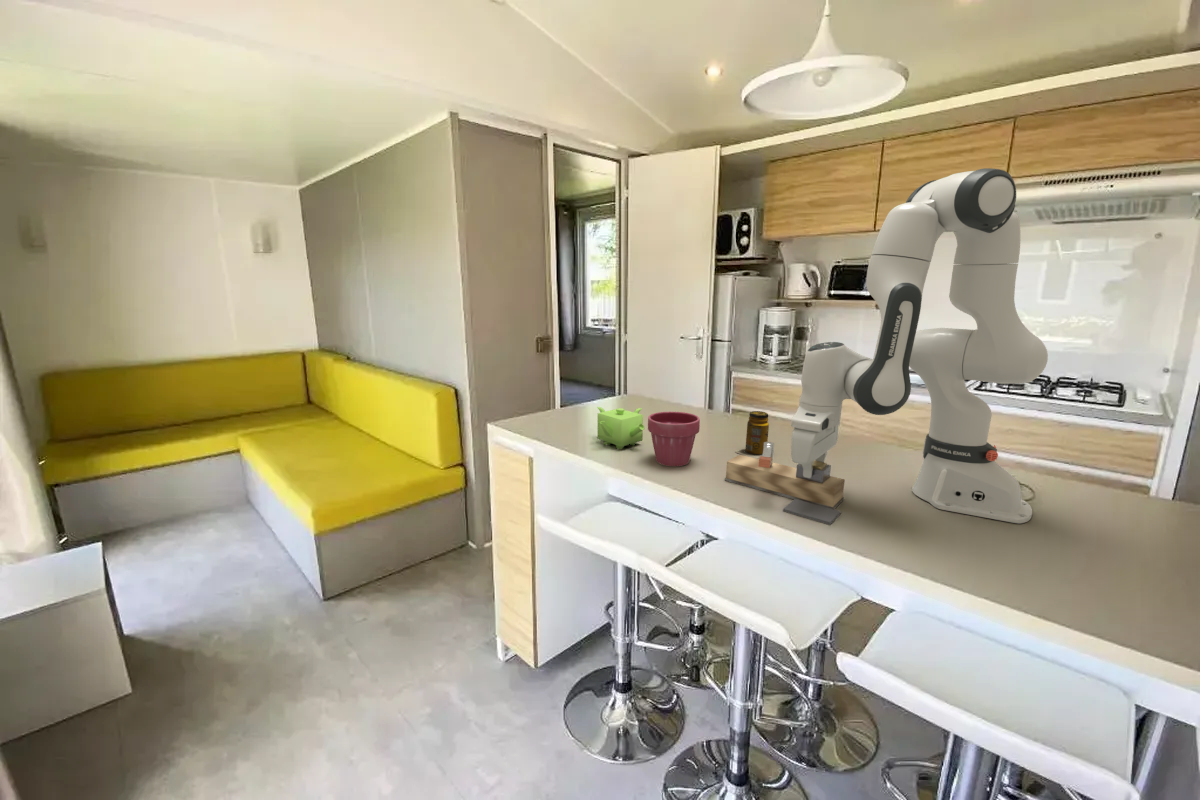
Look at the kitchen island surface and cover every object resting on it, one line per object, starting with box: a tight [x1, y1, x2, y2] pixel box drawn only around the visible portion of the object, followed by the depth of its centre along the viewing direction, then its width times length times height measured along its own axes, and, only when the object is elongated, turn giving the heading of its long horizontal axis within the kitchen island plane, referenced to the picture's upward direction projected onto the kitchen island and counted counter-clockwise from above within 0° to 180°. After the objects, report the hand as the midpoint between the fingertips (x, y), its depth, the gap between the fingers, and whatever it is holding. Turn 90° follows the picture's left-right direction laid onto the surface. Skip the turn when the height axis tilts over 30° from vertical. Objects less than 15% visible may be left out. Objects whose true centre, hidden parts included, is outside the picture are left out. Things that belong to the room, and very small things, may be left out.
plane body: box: [724, 454, 845, 510], centre depth 125 cm, size 26×7×5 cm, turn 49°
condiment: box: [735, 410, 770, 459], centre depth 151 cm, size 7×8×12 cm
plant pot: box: [647, 411, 701, 467], centre depth 143 cm, size 14×14×13 cm
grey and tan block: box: [796, 460, 832, 484], centre depth 119 cm, size 6×5×4 cm
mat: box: [782, 499, 842, 526], centre depth 113 cm, size 10×7×1 cm
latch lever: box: [758, 441, 775, 468], centre depth 121 cm, size 14×2×6 cm, turn 158°
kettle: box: [597, 406, 645, 450], centre depth 159 cm, size 15×14×11 cm
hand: (813, 472), depth 120 cm, fingers open, 5 cm apart
